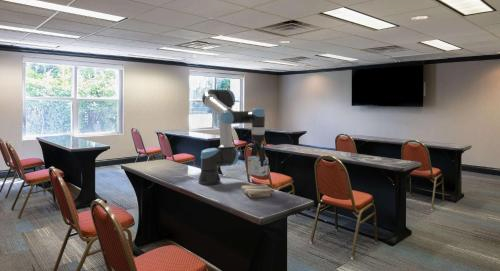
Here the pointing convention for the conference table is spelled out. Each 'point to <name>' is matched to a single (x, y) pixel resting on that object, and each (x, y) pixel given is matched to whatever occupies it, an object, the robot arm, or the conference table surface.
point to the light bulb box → (257, 166)
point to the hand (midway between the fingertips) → (257, 169)
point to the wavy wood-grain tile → (257, 190)
